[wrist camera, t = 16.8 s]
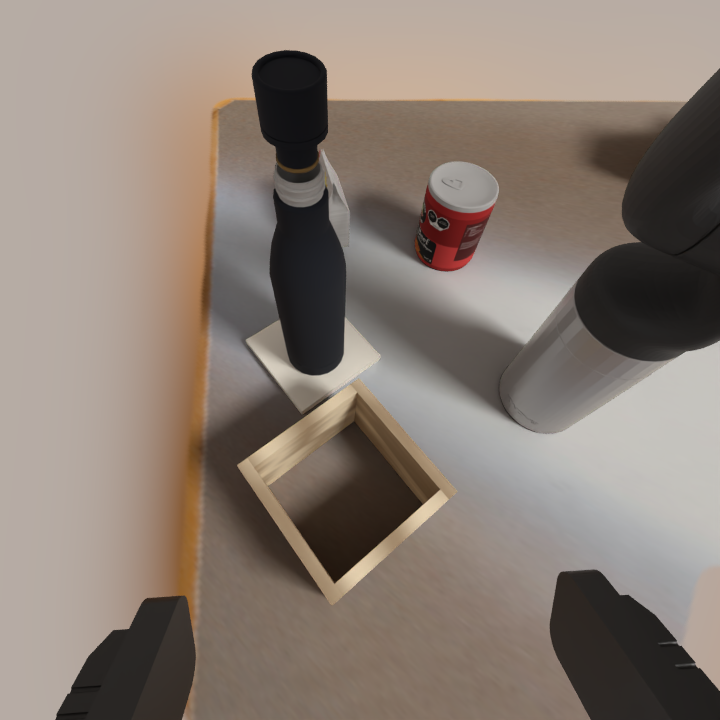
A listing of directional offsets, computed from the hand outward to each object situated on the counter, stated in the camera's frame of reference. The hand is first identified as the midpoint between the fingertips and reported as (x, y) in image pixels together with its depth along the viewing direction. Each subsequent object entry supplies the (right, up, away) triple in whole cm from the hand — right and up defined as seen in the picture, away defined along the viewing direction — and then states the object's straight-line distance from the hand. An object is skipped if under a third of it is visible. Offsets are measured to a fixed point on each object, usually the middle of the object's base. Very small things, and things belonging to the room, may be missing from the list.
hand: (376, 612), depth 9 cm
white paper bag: (-4, +23, +49) cm, 55 cm away
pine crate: (-2, -8, +33) cm, 34 cm away
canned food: (+11, +20, +48) cm, 54 cm away
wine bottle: (-5, +6, +39) cm, 40 cm away
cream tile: (-6, +6, +40) cm, 41 cm away
